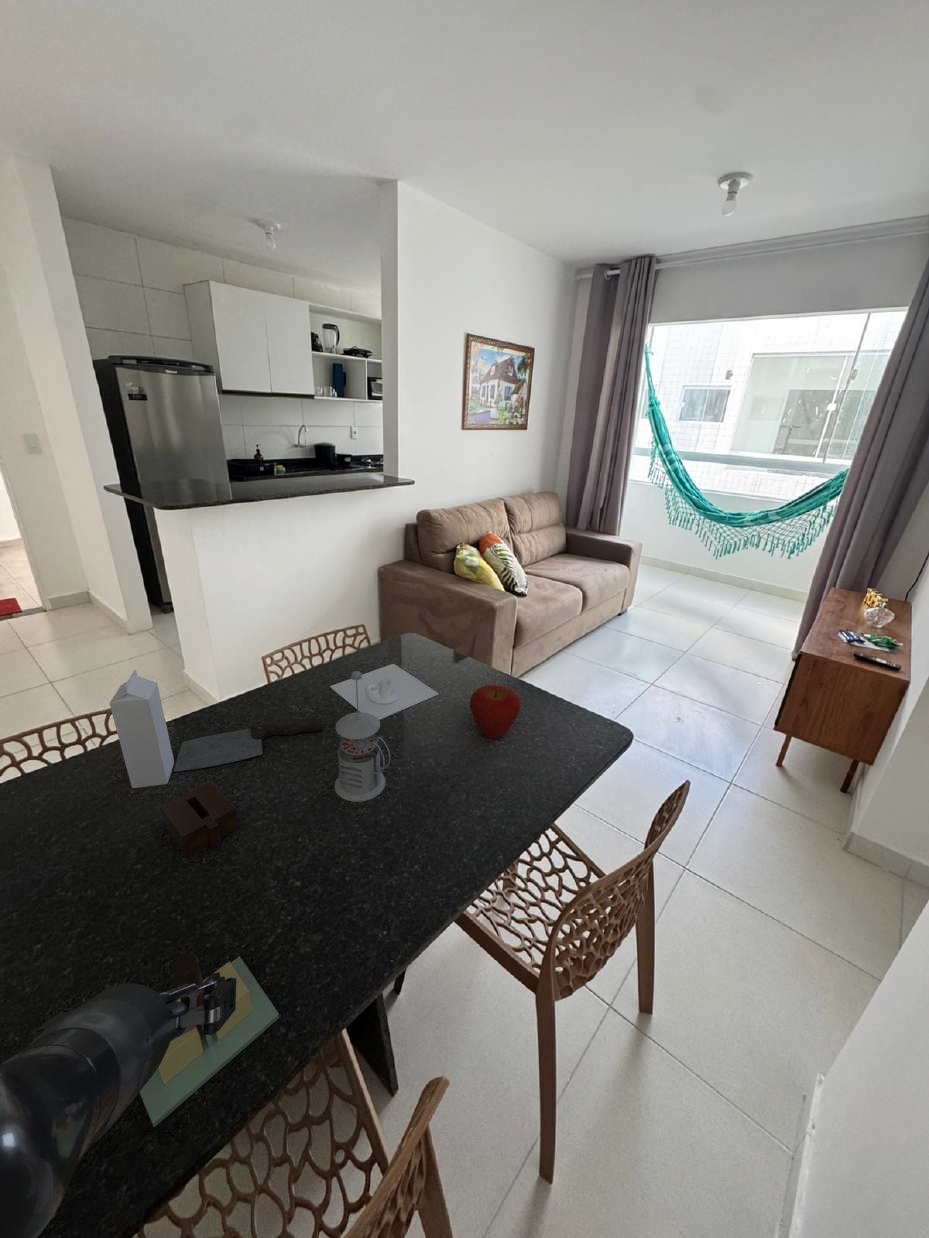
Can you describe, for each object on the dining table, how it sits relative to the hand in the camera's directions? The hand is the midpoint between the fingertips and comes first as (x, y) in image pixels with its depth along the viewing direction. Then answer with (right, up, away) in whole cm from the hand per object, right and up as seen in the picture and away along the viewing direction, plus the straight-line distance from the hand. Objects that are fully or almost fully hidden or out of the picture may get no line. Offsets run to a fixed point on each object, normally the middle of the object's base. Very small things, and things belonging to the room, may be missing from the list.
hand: (168, 993), depth 50 cm
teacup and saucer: (+8, +18, +81) cm, 83 cm away
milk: (-31, +6, +49) cm, 58 cm away
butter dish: (-2, -12, +10) cm, 16 cm away
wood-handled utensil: (-2, -12, +10) cm, 15 cm away
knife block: (-16, +1, +38) cm, 41 cm away
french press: (+9, +4, +49) cm, 50 cm away
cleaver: (-16, +10, +59) cm, 62 cm away
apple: (+35, +10, +67) cm, 76 cm away
